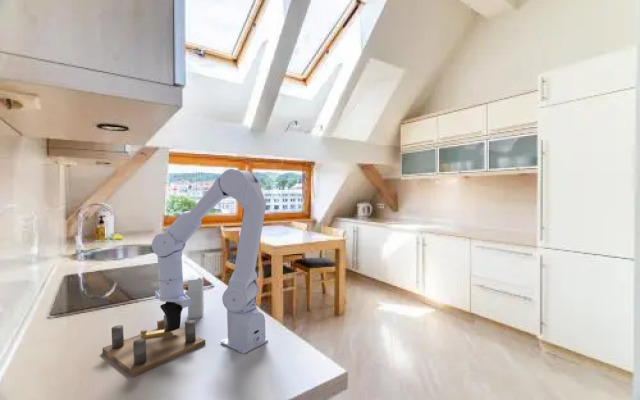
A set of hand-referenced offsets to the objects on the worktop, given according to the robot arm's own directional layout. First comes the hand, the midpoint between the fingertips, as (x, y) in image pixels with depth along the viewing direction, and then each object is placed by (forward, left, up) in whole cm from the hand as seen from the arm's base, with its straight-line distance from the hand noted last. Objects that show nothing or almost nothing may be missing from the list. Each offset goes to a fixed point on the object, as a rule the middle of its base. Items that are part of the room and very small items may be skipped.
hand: (174, 328), depth 83 cm
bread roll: (+30, -19, -3) cm, 36 cm away
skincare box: (+10, -12, -3) cm, 16 cm away
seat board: (-1, +6, -3) cm, 6 cm away
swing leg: (+3, +3, -1) cm, 4 cm away
